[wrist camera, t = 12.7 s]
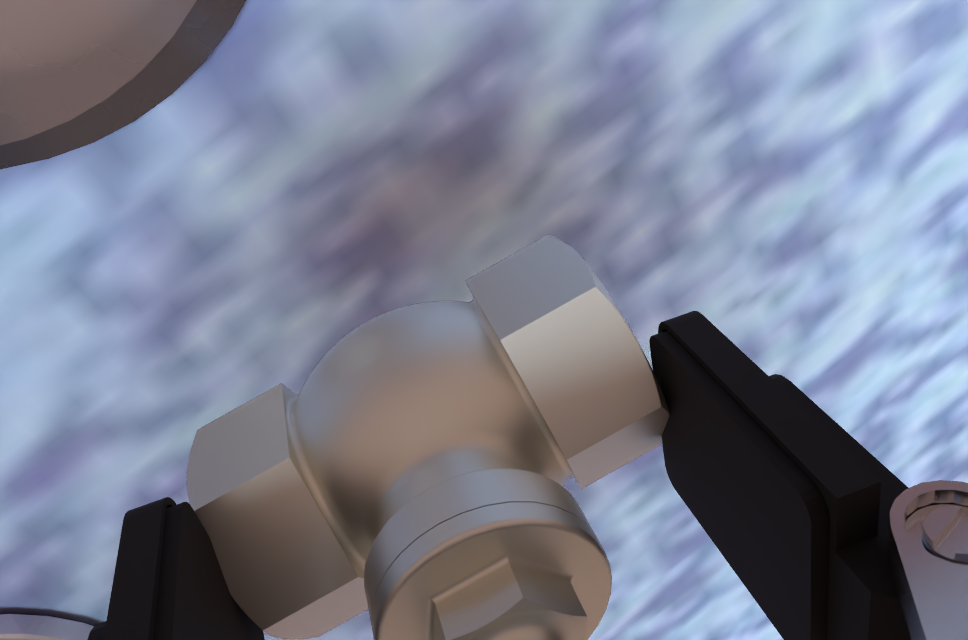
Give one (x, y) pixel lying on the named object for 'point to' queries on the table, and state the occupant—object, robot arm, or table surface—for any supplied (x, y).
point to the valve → (437, 465)
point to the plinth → (135, 87)
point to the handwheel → (74, 55)
